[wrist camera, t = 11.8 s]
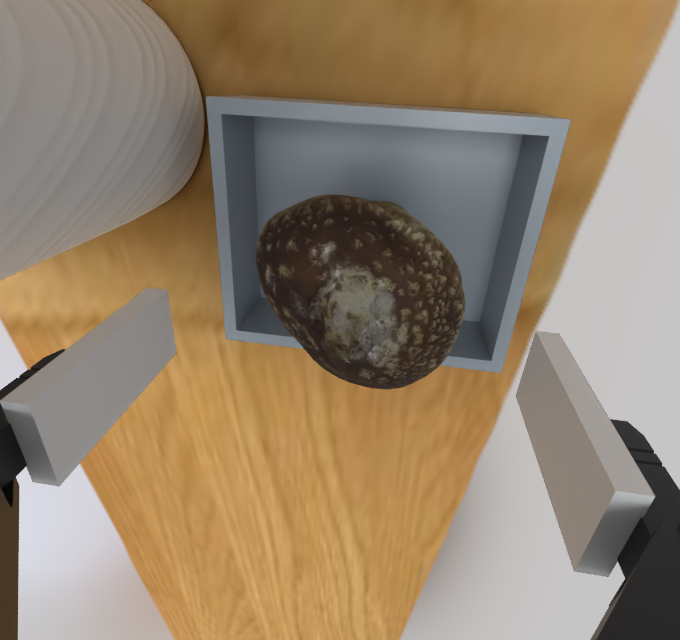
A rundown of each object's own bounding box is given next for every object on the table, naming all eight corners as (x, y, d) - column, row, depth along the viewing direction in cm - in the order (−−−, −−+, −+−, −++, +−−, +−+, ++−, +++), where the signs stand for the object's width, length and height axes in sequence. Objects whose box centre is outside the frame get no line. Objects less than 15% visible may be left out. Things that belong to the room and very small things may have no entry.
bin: (243, 95, 28) (205, 96, 23) (539, 113, 27) (571, 119, 21) (253, 302, 36) (225, 339, 30) (487, 328, 34) (501, 372, 28)
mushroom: (462, 261, 31) (499, 386, 18) (350, 301, 33) (311, 435, 20) (414, 128, 27) (417, 159, 14) (295, 184, 30) (203, 255, 17)
